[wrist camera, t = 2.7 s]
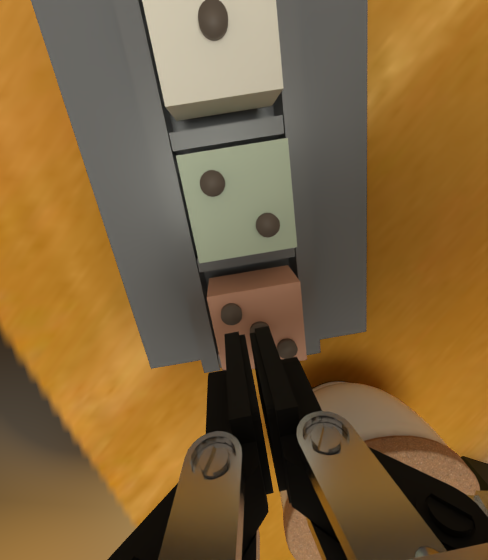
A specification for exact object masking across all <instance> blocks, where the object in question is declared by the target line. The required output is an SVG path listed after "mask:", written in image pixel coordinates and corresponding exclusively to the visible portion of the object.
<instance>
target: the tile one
mask: <svg viewBox="0 0 488 560" xmlns="http://www.w3.org/2000/svg"><path fill="white" fill-rule="evenodd" d="M142 2H143V7H144V11H145V16H146V21H147V25H148V30H149V34H150V39H151V44H152V48H153V53H154V57H155V62H156V67H157V71H158V76H159V80H160V85H161V90H162V94H163V99H164V103H165V107H166V108H167V110H168V111H169V112H170V114H171V115H172V116H173V117H174V119H175V120H176V121H180V120H186V119H192V118H199V117H205V116H211V115H218V114H224V113H230V112H237V111H243V110H249V109H256V108H262V107H268V106H272V105H273V103H274V102H275V100H276V99H277V97H278V96H279V94H280V93H281V91H282V90H283V89H284V87H283V76H282V64H281V52H280V41H279V29H278V17H277V6H276V0H142Z"/></svg>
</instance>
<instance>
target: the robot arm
mask: <svg viewBox="0 0 488 560" xmlns="http://www.w3.org/2000/svg"><path fill="white" fill-rule="evenodd" d="M254 331H255V332H254V333H249V334H250V340H251V346H252V352H253V358H254V364H255V370H256V376H257V382H258V388H259V394H260V399H261V404H262V409H263V414H264V419H265V424H266V429H267V434H268V439H269V443H270V448H271V453H272V458H273V463H274V468H275V473H276V478H277V483H278V487H279V492H280V491H285V490H286V491H287V495H288V500H289V504H290V503H291V505H292V507H293V508H294V509H296V510H297V511H298V512H300V513H301V514H303V515H304V516H305V517H306V519H307V523H308V526H309V529H310V531H311V534H312V536H313V539H314V541H315V544H316V546H317V549H318V551H319V553H320V556H321V558H322V560H488V491H480V490H476V491H475V495H466V494H465V493H463V492H461V491H460V490H458V489H456V488H455V487H453V486H451V485H449V484H447V483H445V482H442V481H440V480H438V479H436V478H434V477H432V476H430V475H428V474H425V473H423V472H421V471H419V470H417V469H415V468H413V467H411V466H409V465H406V464H404V463H402V462H400V461H398V460H396V459H394V458H392V457H389V456H387V455H385V454H383V453H381V452H379V451H377V450H375V449H372V448H370V447H368V446H367V445H366V444H365V442H364V441H363V440H362V438H361V437H360V436H359V434H358V433H357V432H356V430H355V429H354V428H353V426H352V425H351V424H350V423H349V422H348V421H347V420H346V419H345V418H343V417H341V416H340V415H338V414H335V413H332V412H329V411H322V409H321V407H320V405H319V403H318V401H317V398H316V396H315V394H314V392H313V390H312V388H311V385H310V383H309V381H308V379H307V377H306V375H305V373H304V370H303V368H302V366H301V364H300V362H299V360H298V358H297V357H292V358H287V359H280V356H279V353H278V351H277V348H276V345H275V342H274V340H273V337H272V334H271V331H270V329H269V326H265V327H260V328H254ZM224 337H225V355H226V370H223V371H217V372H212V373H209V374H208V391H207V416H206V434H205V435H203V436H201V437H200V438H199V439H197V440H196V441H195V442H194V443H193V444H192V446H191V447H190V448H189V449H188V452H187V454H186V456H185V459H184V463H183V467H182V471H181V474H180V478H179V482H178V484H177V485H176V486H175V487H174V488H173V489H172V490H171V491H170V492H169V493H168V494H167V496H166V497H165V498H164V499H163V500H162V501H161V502H160V503H159V504H158V505H157V506H156V508H155V509H154V510H153V511H152V512H151V513H150V514H149V515H148V516H147V517H146V518H145V519H144V521H143V522H142V523H141V524H140V525H139V526H138V527H137V528H136V529H135V530H134V532H133V533H132V534H131V535H130V536H129V537H128V538H127V539H126V540H125V541H124V542H123V543H122V544H121V546H120V547H119V548H118V549H117V550H116V551H115V552H114V553H113V554H112V555H111V557H110V558H109V559H108V560H260V536H259V526H260V525H261V523H262V521H263V520H264V518H265V517H266V515H267V513H268V502H267V496H266V494H270V493H273V487H272V481H271V476H270V470H269V464H268V458H267V452H266V446H265V441H264V435H263V429H262V423H261V417H260V412H259V406H258V401H257V396H256V390H255V385H254V380H253V375H252V369H251V364H250V359H249V353H248V348H247V343H246V338H245V334H243V335H239V331H238V332H232V333H227V334H224Z"/></svg>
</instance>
